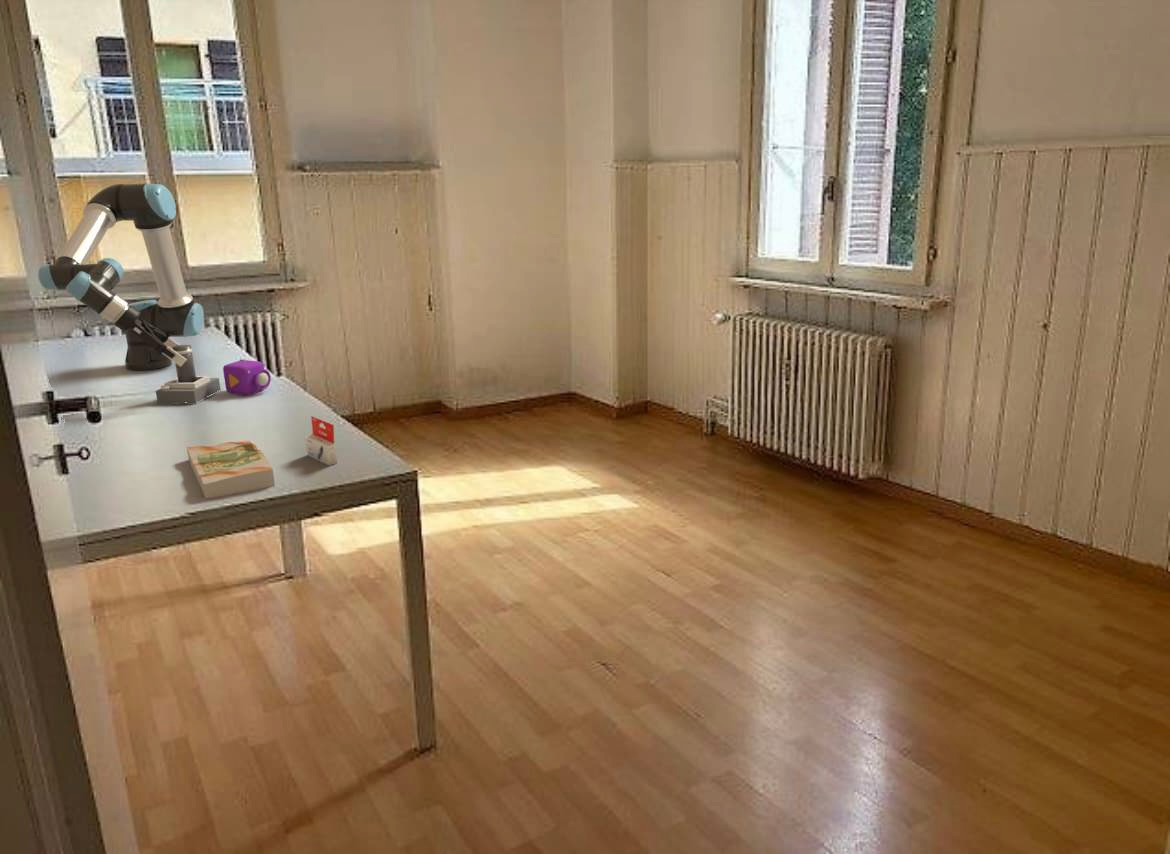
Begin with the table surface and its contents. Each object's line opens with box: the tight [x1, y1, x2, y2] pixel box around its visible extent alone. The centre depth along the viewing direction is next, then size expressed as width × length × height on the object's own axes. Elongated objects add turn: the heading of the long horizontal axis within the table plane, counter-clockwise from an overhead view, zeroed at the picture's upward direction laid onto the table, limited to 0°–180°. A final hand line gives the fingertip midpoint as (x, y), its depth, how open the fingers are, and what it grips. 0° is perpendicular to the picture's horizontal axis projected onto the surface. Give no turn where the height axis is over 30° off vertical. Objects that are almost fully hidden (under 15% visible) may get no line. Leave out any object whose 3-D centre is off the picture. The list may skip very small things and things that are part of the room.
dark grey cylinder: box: [173, 344, 197, 383], centre depth 267 cm, size 5×5×12 cm
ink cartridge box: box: [304, 416, 338, 466], centre depth 210 cm, size 2×11×10 cm, turn 45°
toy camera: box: [222, 357, 272, 396], centre depth 273 cm, size 11×14×10 cm
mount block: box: [155, 375, 221, 404], centre depth 269 cm, size 16×12×6 cm
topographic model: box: [186, 440, 276, 500], centre depth 203 cm, size 30×14×5 cm, turn 30°
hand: (184, 358), depth 266 cm, fingers open, 13 cm apart
